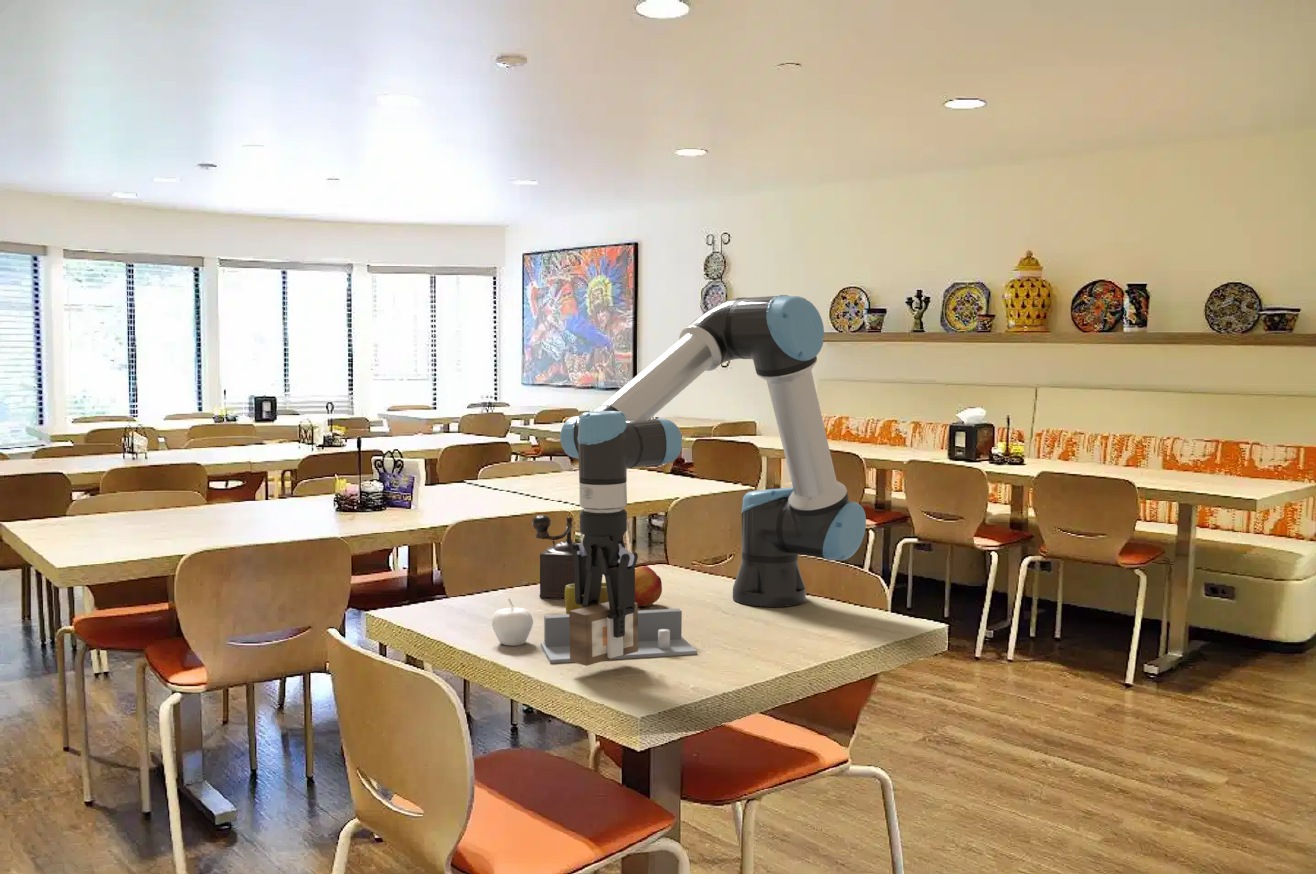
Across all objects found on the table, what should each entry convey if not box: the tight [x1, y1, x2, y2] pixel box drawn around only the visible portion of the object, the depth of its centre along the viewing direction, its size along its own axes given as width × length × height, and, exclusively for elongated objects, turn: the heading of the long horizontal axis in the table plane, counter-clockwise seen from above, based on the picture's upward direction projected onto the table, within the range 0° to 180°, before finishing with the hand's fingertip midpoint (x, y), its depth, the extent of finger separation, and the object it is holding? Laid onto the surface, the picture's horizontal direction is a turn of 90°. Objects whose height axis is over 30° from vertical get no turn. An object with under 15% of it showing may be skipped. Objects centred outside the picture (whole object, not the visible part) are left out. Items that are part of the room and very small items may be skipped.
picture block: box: [569, 602, 639, 667], centre depth 175 cm, size 11×4×8 cm, turn 134°
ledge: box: [540, 608, 698, 664], centre depth 187 cm, size 25×11×6 cm, turn 104°
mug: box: [564, 582, 609, 614], centre depth 204 cm, size 12×10×10 cm
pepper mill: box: [531, 514, 579, 601], centre depth 228 cm, size 16×11×18 cm
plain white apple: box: [491, 598, 534, 647], centre depth 191 cm, size 7×7×8 cm
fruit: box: [635, 565, 663, 608], centre depth 221 cm, size 8×8×8 cm
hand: (605, 652), depth 175 cm, fingers closed on picture block, 4 cm apart
